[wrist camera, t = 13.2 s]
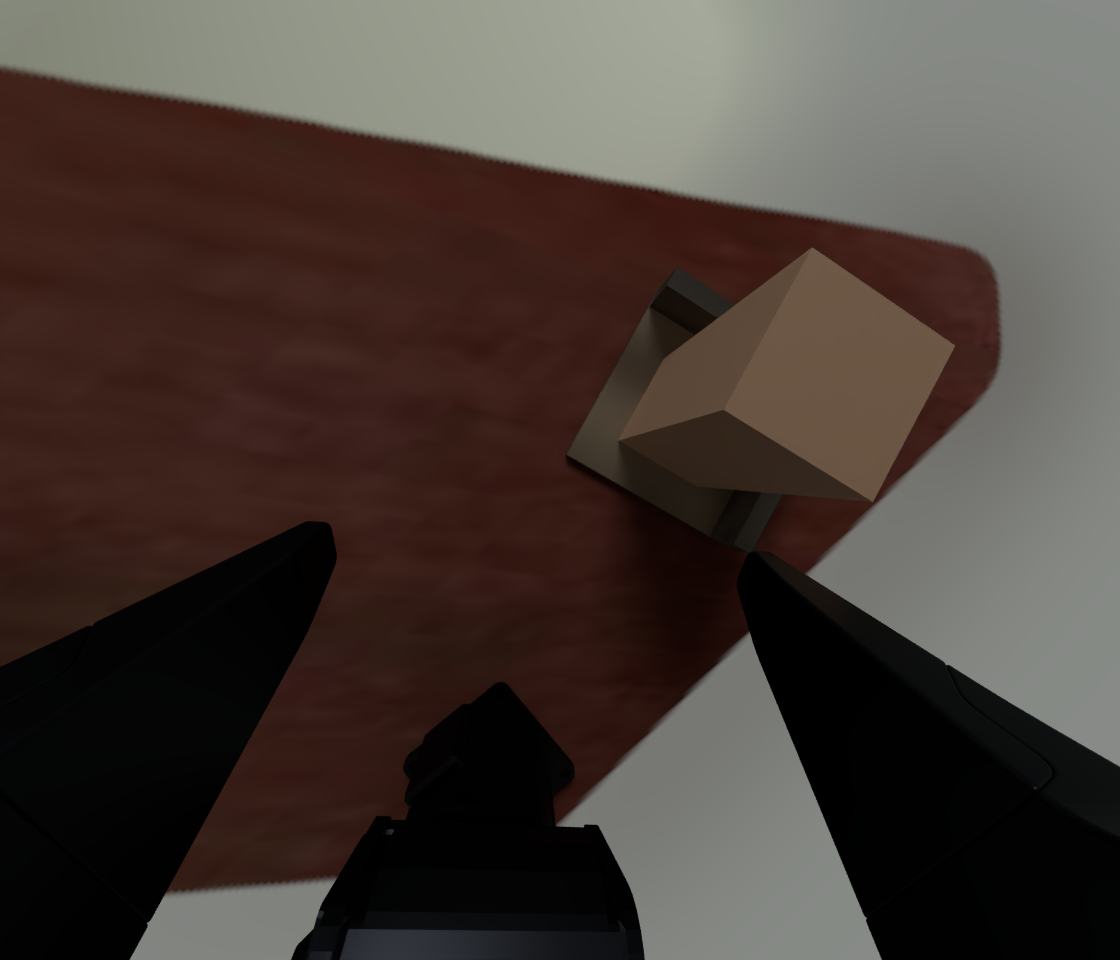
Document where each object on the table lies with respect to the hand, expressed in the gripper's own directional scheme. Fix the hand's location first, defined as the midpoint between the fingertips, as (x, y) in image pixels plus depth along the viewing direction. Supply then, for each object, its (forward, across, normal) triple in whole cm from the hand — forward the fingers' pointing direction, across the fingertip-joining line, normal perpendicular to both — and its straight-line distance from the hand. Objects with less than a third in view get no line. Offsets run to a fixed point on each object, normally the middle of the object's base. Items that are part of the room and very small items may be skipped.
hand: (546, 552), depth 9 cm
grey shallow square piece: (+14, -7, +2) cm, 16 cm away
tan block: (+14, -7, +2) cm, 15 cm away
